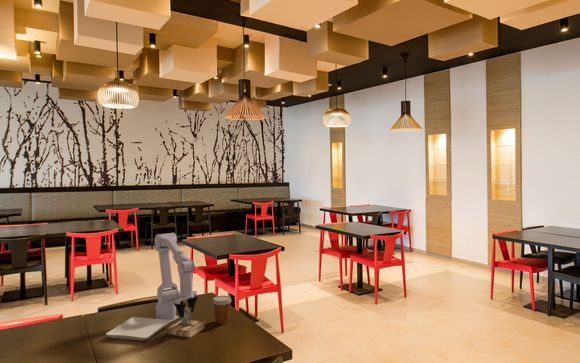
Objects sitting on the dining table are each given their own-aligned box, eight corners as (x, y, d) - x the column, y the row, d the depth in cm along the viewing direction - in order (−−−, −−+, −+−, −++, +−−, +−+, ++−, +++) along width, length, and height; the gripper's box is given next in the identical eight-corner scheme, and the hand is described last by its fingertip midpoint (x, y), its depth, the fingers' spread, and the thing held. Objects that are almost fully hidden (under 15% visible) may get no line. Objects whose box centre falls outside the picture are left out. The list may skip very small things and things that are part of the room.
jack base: (168, 334, 182) (168, 326, 182) (183, 324, 193) (183, 317, 193) (190, 337, 178) (189, 330, 178) (204, 328, 189) (204, 320, 189)
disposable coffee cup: (233, 318, 201) (233, 295, 201) (228, 325, 192) (228, 301, 192) (215, 318, 202) (215, 295, 202) (210, 325, 193) (209, 300, 193)
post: (181, 323, 185) (181, 308, 185) (185, 321, 188) (185, 306, 187) (187, 324, 184) (187, 309, 184) (191, 322, 186) (191, 307, 186)
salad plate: (147, 344, 172) (147, 337, 171) (104, 341, 176) (104, 333, 176) (171, 326, 192) (171, 319, 192) (132, 323, 197) (132, 316, 197)
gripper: (184, 291, 177) (184, 320, 177) (201, 282, 191) (202, 310, 191) (171, 289, 180) (171, 319, 180) (189, 281, 193) (189, 308, 193)
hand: (186, 314), depth 186 cm, fingers open, 7 cm apart
